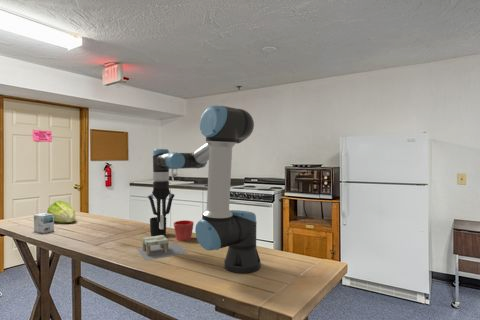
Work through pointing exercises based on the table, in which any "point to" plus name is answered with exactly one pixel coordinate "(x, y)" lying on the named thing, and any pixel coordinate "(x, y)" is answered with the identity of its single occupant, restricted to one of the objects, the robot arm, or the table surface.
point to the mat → (162, 251)
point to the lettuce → (62, 212)
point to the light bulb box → (43, 223)
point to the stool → (155, 243)
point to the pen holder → (156, 227)
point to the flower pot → (183, 230)
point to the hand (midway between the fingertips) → (161, 228)
